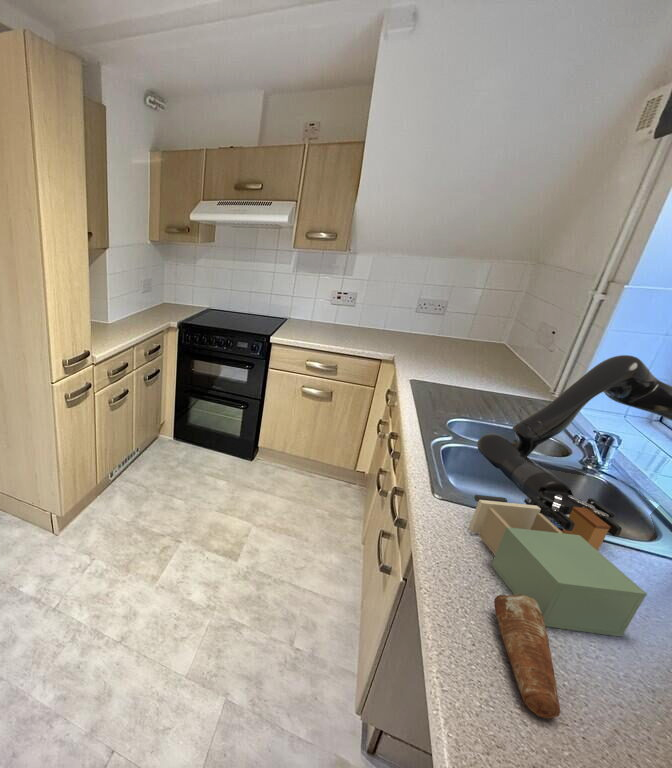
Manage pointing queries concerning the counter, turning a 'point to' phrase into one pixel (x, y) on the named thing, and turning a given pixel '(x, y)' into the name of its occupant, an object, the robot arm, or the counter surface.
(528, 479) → the robot arm
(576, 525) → the brown block
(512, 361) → the counter surface
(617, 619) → the cabinet
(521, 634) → the bread
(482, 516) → the drawer
